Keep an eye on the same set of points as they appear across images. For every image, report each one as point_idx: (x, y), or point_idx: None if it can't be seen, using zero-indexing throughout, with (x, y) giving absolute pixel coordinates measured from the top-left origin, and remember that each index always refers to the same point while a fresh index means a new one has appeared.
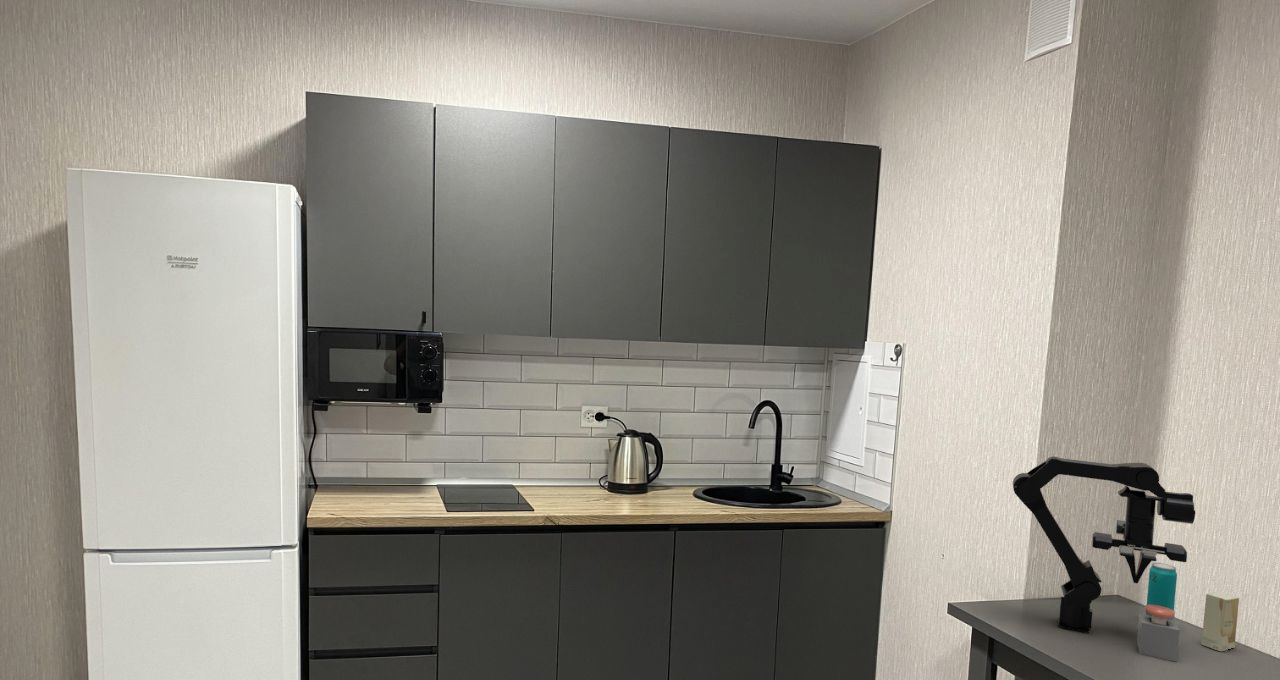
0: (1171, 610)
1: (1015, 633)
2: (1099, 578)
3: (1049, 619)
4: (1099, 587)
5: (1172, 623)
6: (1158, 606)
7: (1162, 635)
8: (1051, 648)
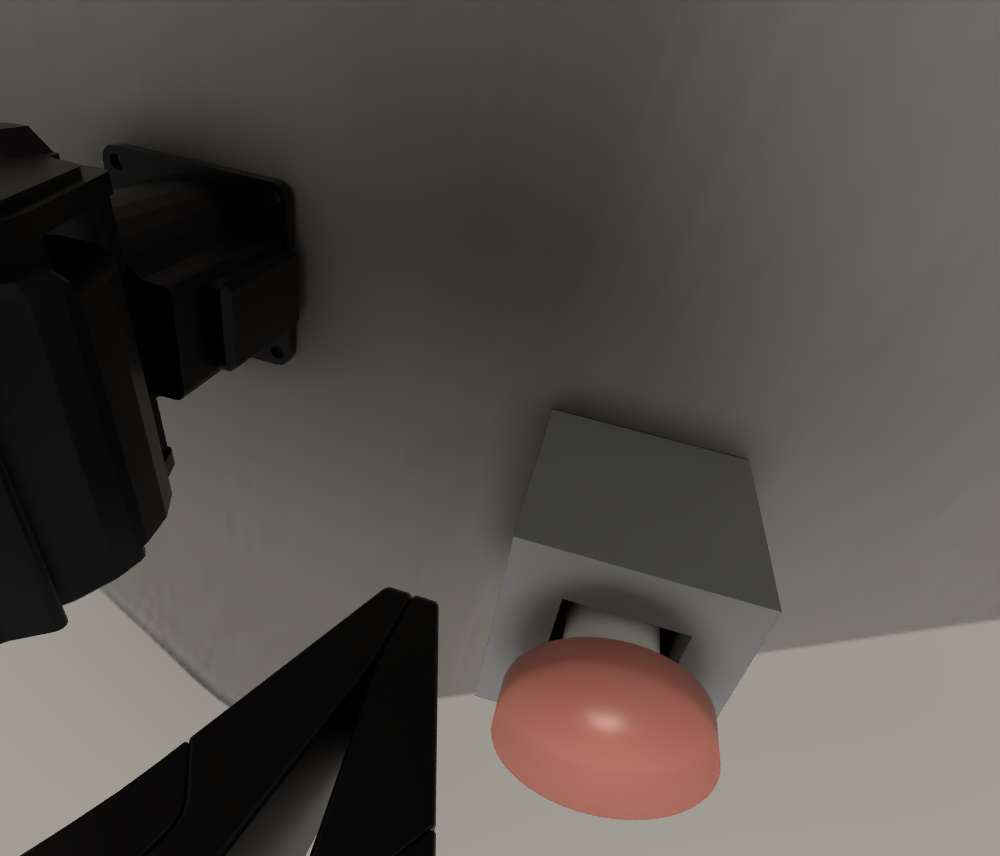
0: (699, 768)
1: None
2: (14, 574)
3: None
4: (102, 580)
5: (710, 670)
6: (616, 709)
7: None
8: (164, 592)
